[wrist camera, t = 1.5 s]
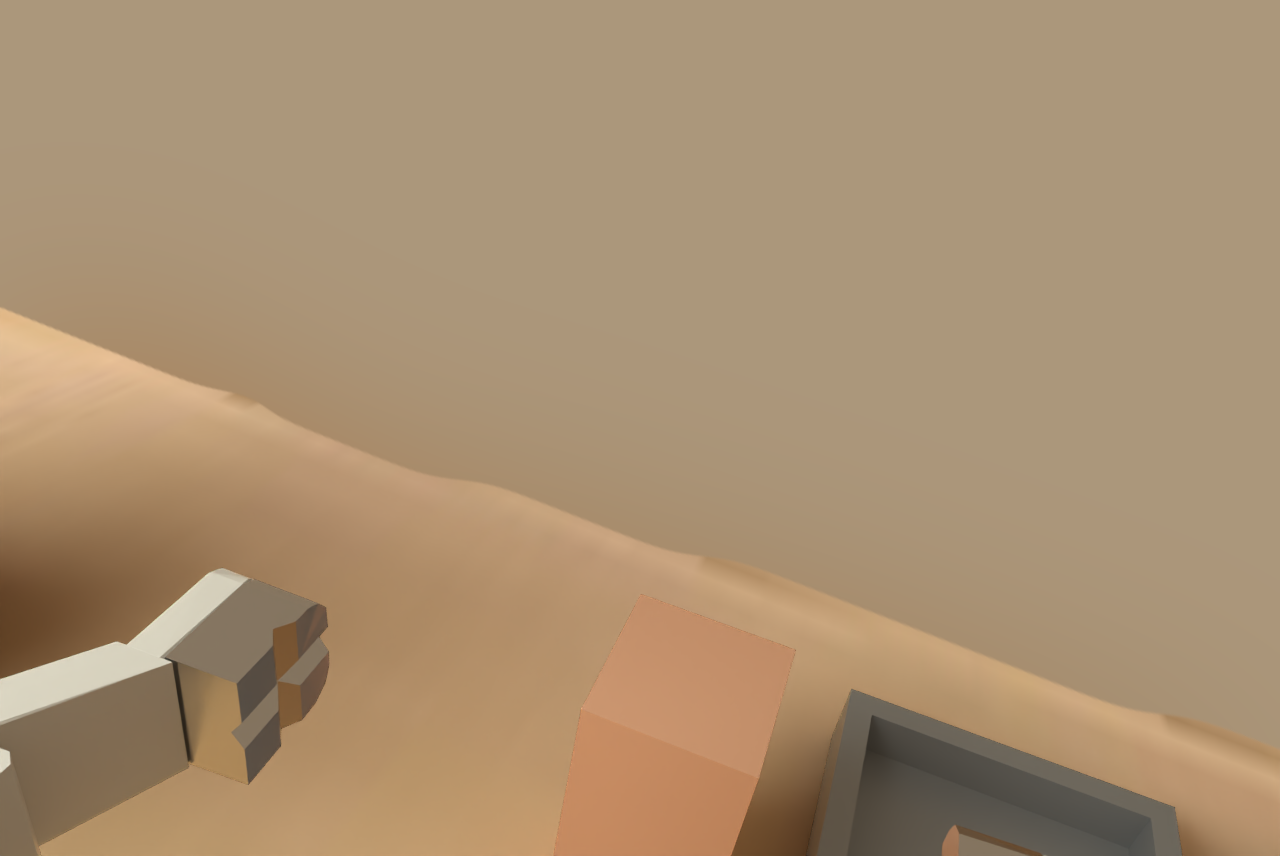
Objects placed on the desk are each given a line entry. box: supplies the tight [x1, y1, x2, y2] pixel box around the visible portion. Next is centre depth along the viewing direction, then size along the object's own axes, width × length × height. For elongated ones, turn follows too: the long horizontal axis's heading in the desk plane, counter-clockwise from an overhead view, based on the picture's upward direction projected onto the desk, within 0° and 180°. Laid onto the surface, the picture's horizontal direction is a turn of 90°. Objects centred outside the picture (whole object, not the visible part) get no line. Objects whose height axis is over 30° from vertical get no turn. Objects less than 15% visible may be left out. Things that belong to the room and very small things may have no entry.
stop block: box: [553, 594, 796, 856], centre depth 31 cm, size 5×5×12 cm
